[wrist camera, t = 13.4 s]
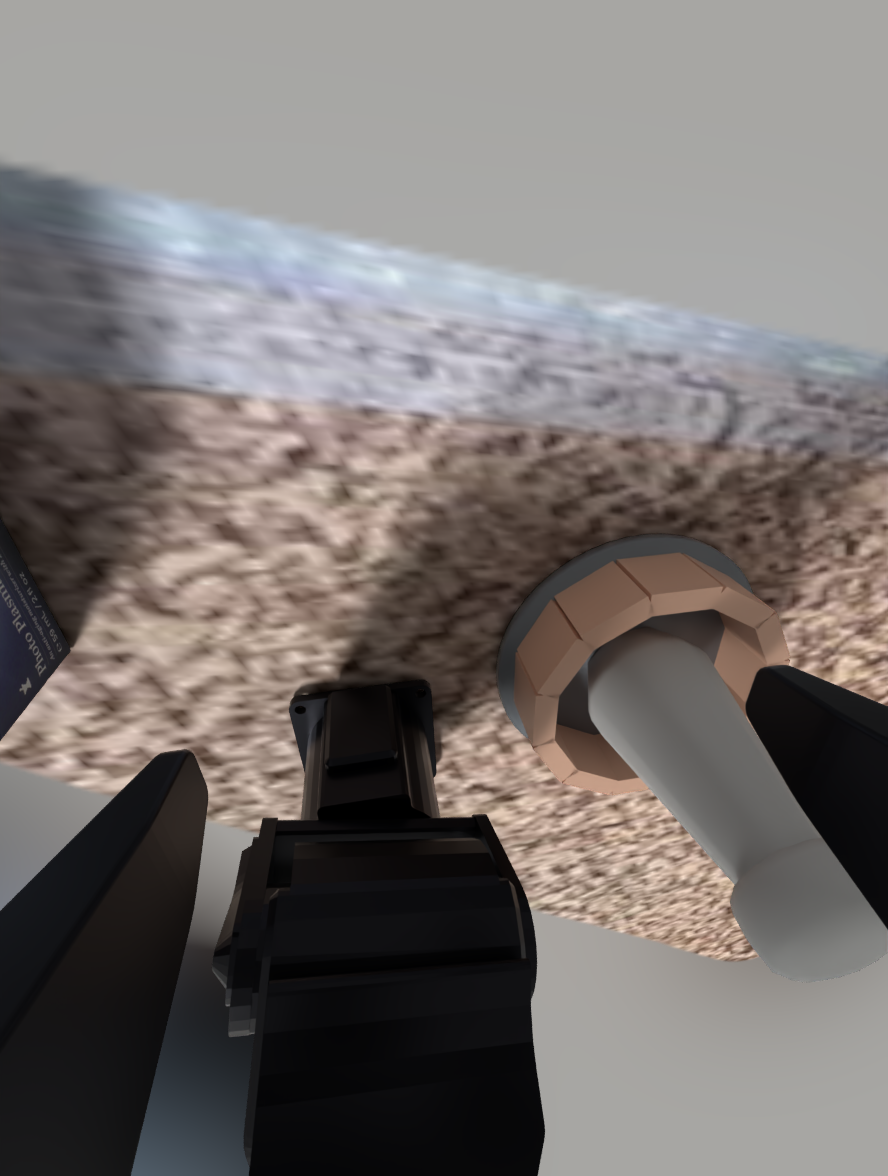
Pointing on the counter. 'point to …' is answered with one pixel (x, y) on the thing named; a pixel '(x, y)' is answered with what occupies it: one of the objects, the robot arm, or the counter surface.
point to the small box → (23, 636)
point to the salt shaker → (732, 804)
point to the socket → (608, 609)
